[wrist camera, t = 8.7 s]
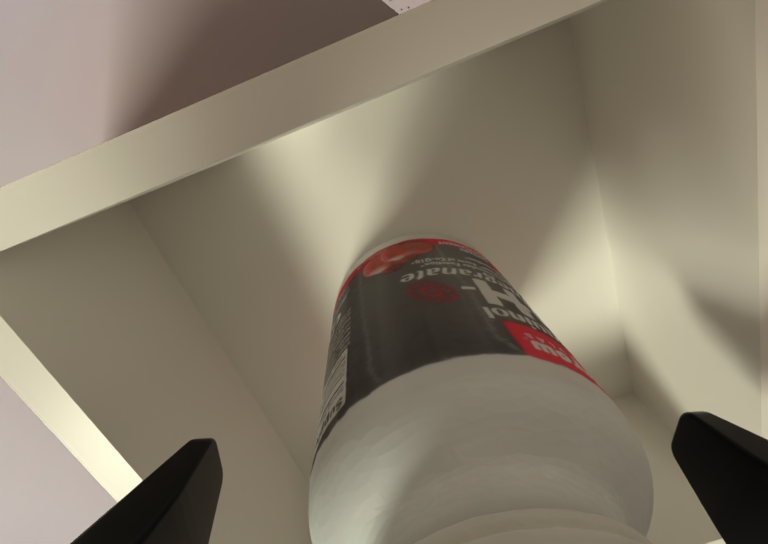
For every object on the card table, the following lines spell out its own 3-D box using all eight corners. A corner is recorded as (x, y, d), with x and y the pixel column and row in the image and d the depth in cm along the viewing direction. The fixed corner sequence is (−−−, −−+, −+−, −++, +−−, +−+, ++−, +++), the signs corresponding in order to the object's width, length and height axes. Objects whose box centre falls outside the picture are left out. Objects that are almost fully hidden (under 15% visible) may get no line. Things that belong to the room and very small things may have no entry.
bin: (647, 392, 15) (795, 537, 10) (309, 503, 16) (286, 684, 11) (583, -25, 10) (818, -168, 5) (97, 180, 11) (-124, 241, 6)
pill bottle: (518, 233, 12) (1017, 618, 3) (487, 383, 14) (725, 887, 5) (335, 222, 12) (251, 636, 2) (330, 378, 13) (272, 925, 4)
